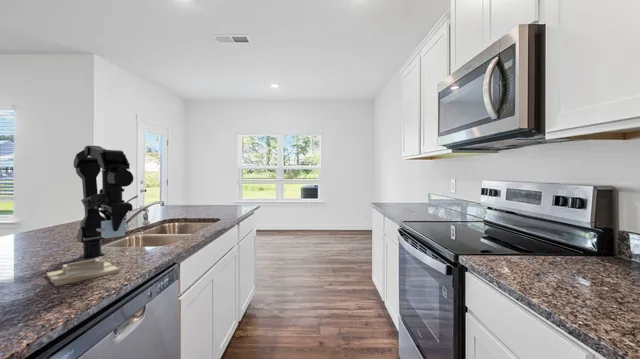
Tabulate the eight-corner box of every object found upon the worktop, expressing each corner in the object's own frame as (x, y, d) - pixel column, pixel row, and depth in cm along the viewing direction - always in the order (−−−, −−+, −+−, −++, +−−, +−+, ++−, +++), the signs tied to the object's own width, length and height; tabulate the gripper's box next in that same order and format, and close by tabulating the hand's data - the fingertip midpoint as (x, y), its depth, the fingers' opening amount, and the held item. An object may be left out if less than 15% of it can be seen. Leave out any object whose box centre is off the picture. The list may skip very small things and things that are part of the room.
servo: (96, 237, 104) (95, 221, 104) (125, 233, 111) (125, 218, 111) (100, 239, 101) (99, 222, 101) (129, 234, 109) (129, 219, 108)
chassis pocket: (46, 275, 97) (46, 265, 96) (105, 263, 109) (105, 254, 109) (55, 286, 88) (55, 274, 87) (119, 272, 100) (119, 262, 100)
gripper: (75, 186, 105) (76, 230, 106) (93, 187, 94) (94, 237, 94) (113, 184, 114) (113, 226, 114) (132, 186, 102) (133, 232, 103)
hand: (113, 230), depth 106 cm, fingers closed on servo, 4 cm apart
